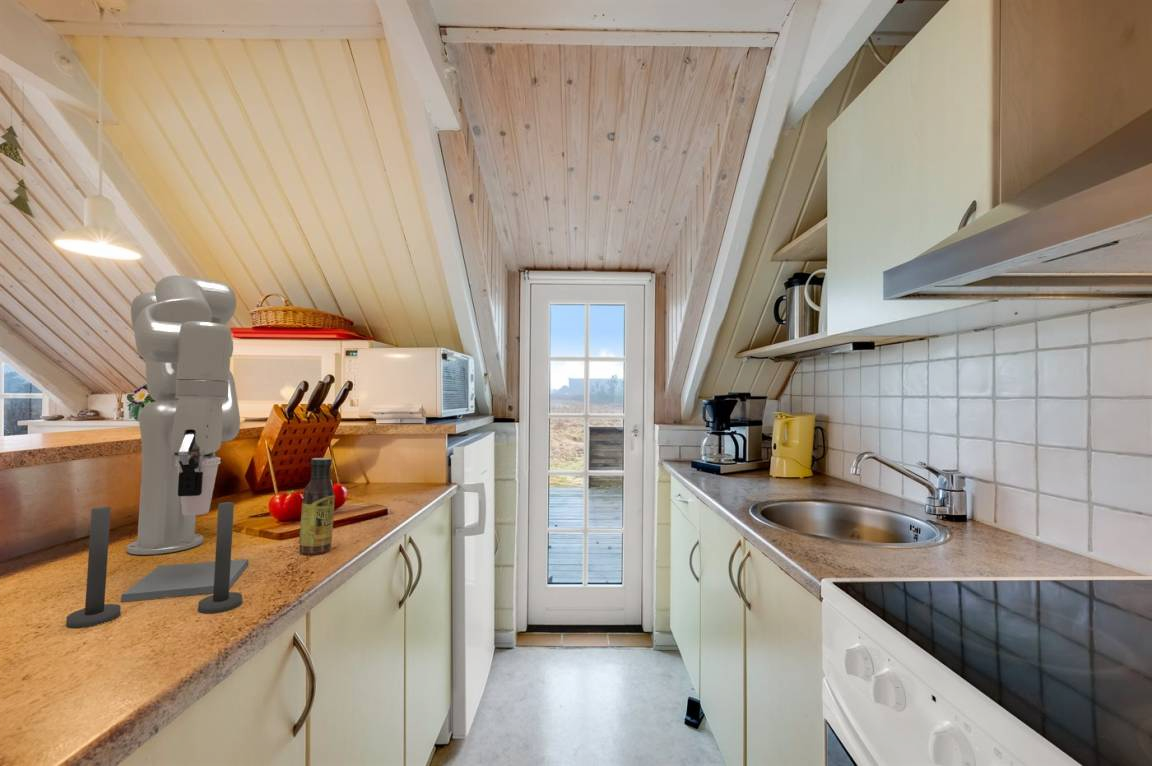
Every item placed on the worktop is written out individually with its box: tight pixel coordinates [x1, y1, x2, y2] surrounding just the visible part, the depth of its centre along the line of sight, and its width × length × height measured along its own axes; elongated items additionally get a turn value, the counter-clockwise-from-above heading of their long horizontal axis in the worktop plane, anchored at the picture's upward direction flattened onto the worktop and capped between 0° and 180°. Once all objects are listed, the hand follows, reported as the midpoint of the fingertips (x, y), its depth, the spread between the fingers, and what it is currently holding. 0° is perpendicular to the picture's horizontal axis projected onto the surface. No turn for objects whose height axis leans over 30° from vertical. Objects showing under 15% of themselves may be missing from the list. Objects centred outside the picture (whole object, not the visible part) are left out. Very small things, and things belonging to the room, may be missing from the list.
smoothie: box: [175, 448, 222, 516], centre depth 86 cm, size 6×6×14 cm
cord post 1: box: [65, 506, 121, 629], centre depth 71 cm, size 6×6×16 cm
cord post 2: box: [197, 501, 243, 614], centre depth 77 cm, size 6×6×16 cm
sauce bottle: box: [298, 457, 336, 555], centre depth 105 cm, size 6×6×20 cm
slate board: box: [120, 558, 250, 603], centre depth 86 cm, size 14×14×1 cm
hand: (196, 491), depth 86 cm, fingers closed on smoothie, 6 cm apart
